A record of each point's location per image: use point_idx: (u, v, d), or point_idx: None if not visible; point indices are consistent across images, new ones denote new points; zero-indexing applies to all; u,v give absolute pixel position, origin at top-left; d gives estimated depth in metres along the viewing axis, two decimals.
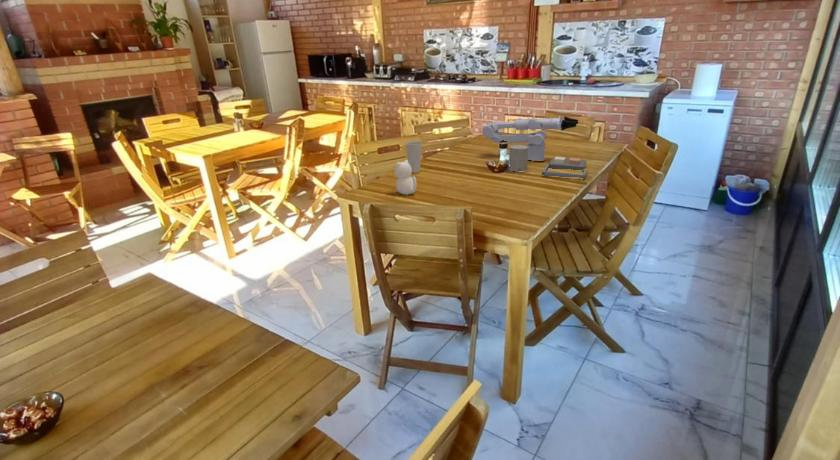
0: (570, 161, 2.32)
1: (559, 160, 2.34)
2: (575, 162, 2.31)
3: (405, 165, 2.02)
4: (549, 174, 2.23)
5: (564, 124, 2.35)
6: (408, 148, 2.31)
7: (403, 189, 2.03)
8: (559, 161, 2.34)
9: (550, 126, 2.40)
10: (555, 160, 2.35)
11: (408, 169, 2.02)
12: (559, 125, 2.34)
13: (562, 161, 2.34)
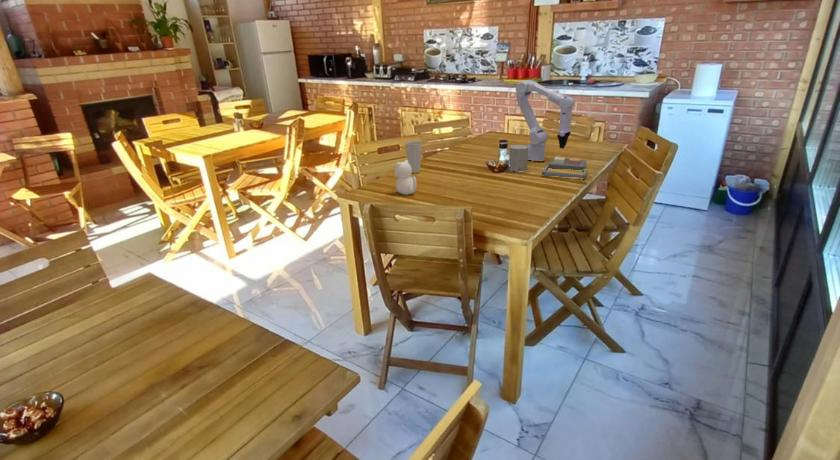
0: (570, 161, 2.32)
1: (559, 160, 2.34)
2: (575, 162, 2.31)
3: (405, 165, 2.02)
4: (549, 174, 2.23)
5: (563, 137, 2.35)
6: (408, 148, 2.31)
7: (403, 189, 2.03)
8: (559, 161, 2.34)
9: (562, 122, 2.33)
10: (555, 160, 2.35)
11: (408, 169, 2.02)
12: (562, 134, 2.31)
13: (562, 161, 2.34)
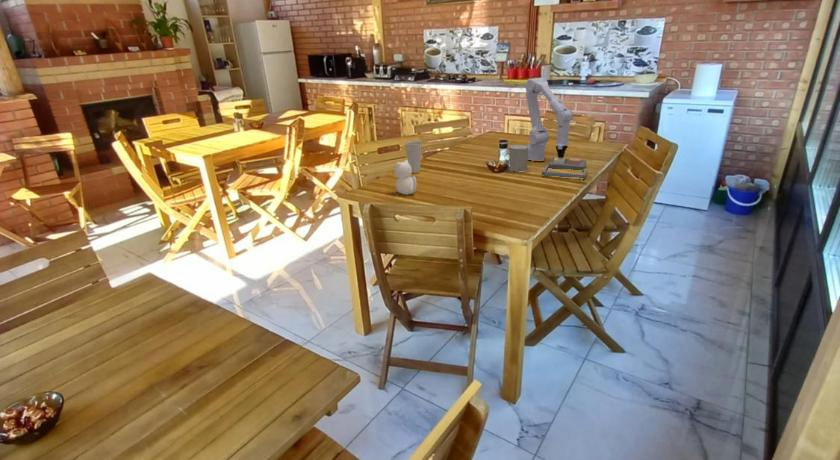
0: (570, 161, 2.32)
1: (559, 161, 2.33)
2: (575, 162, 2.31)
3: (405, 165, 2.02)
4: (549, 174, 2.23)
5: (561, 149, 2.36)
6: (408, 148, 2.31)
7: (403, 189, 2.03)
8: (559, 162, 2.33)
9: (560, 135, 2.32)
10: (555, 161, 2.34)
11: (408, 169, 2.02)
12: (560, 148, 2.29)
13: (562, 162, 2.33)
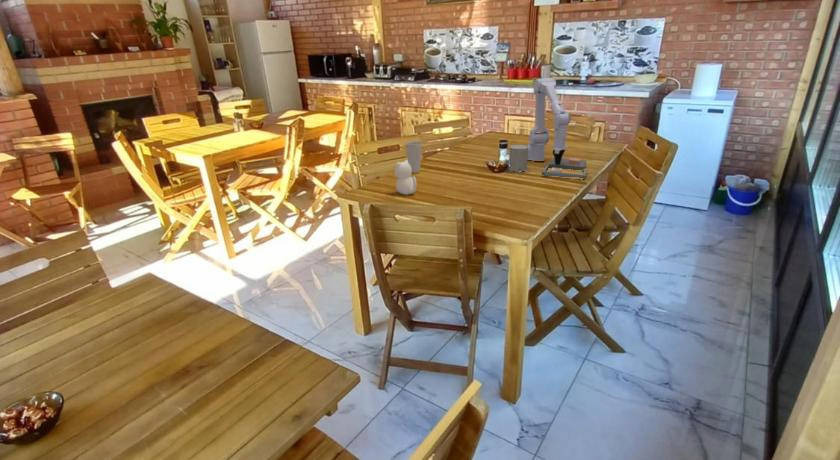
0: (570, 161, 2.32)
1: None
2: (575, 162, 2.31)
3: (405, 165, 2.02)
4: (549, 174, 2.23)
5: (558, 153, 2.28)
6: (408, 148, 2.31)
7: (403, 189, 2.03)
8: None
9: (557, 139, 2.24)
10: None
11: (408, 169, 2.02)
12: (557, 152, 2.22)
13: None
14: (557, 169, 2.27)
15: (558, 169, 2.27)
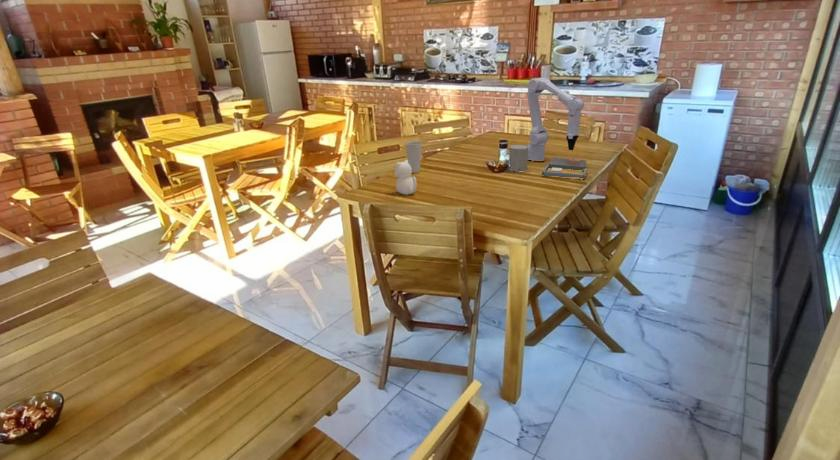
0: (570, 161, 2.32)
1: None
2: (575, 162, 2.31)
3: (405, 165, 2.02)
4: (549, 174, 2.23)
5: (572, 139, 2.31)
6: (408, 148, 2.31)
7: (403, 189, 2.03)
8: None
9: (570, 125, 2.27)
10: None
11: (408, 169, 2.02)
12: (570, 137, 2.25)
13: None
14: (557, 169, 2.27)
15: (558, 169, 2.27)
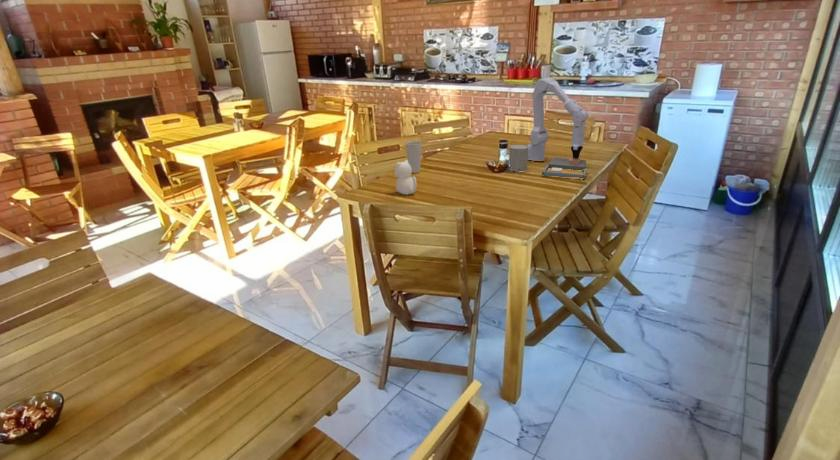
0: (570, 161, 2.32)
1: None
2: (575, 162, 2.31)
3: (405, 165, 2.02)
4: (549, 174, 2.23)
5: (576, 149, 2.33)
6: (408, 148, 2.31)
7: (403, 189, 2.03)
8: None
9: (575, 136, 2.29)
10: None
11: (408, 169, 2.02)
12: (575, 148, 2.27)
13: None
14: (557, 169, 2.27)
15: (558, 169, 2.27)
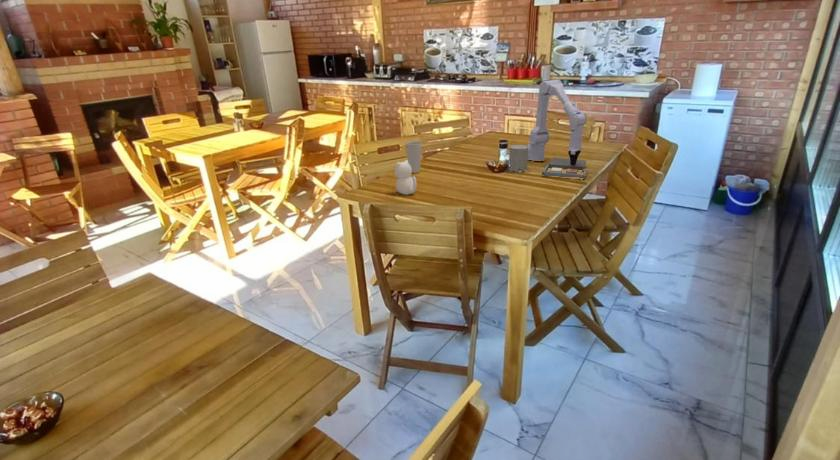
0: None
1: None
2: None
3: (405, 165, 2.02)
4: (549, 174, 2.23)
5: (574, 154, 2.25)
6: (408, 148, 2.31)
7: (403, 189, 2.03)
8: None
9: (573, 140, 2.21)
10: None
11: (408, 169, 2.02)
12: (573, 153, 2.19)
13: None
14: (557, 169, 2.27)
15: (558, 169, 2.27)
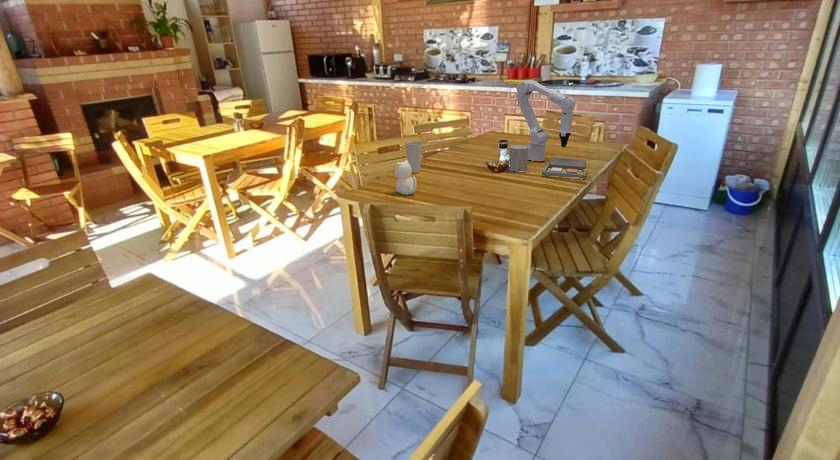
0: None
1: None
2: None
3: (405, 165, 2.02)
4: (549, 174, 2.23)
5: (564, 136, 2.37)
6: (408, 148, 2.31)
7: (403, 189, 2.03)
8: None
9: (563, 122, 2.33)
10: None
11: (408, 169, 2.02)
12: (563, 135, 2.31)
13: None
14: (557, 169, 2.27)
15: (558, 169, 2.27)
